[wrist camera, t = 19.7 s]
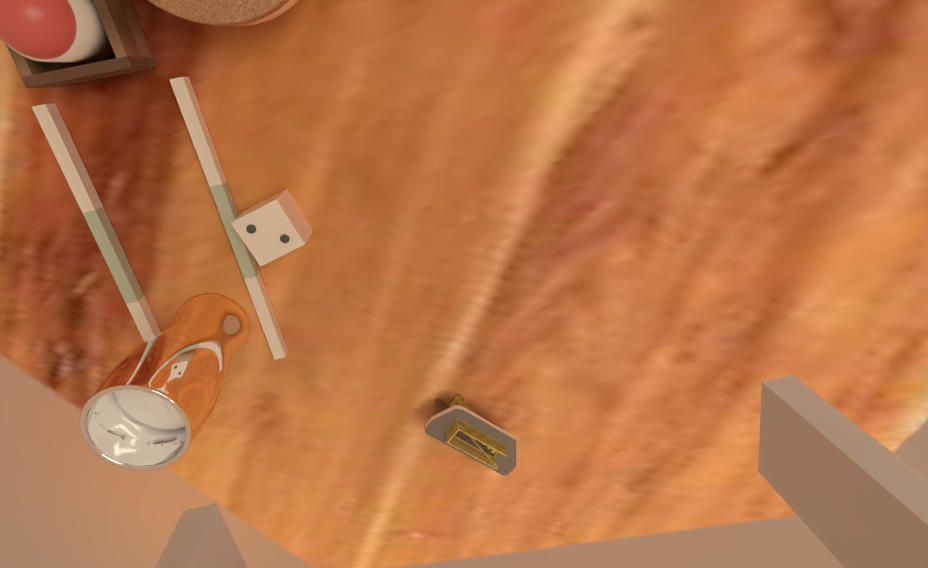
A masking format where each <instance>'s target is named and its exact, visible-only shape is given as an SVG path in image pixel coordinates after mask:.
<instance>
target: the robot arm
mask: <svg viewBox="0 0 928 568" xmlns="http://www.w3.org/2000/svg"><path fill="white" fill-rule="evenodd" d="M758 471H759V472H760V473H761V474H762V476H763V477H764V478H765V479H766V480H767V481H768V482H769V483H770V485H771V486H772V487H773V488H774V489H775V490H776V491H777V492H778V494H779V495H780V496H781V497H782V498H783V499H784V500H785V501H786V503H787V504H788V505H789V506H790V507H791V508H792V509H793V510H794V511H795V513H796V514H797V515H798V516H799V517H800V518H801V519H802V520H803V522H804V523H805V524H806V525H807V526H808V527H809V528H810V529H811V530H812V532H813V533H814V534H815V535H816V536H817V537H818V538H819V540H820V541H821V542H822V543H823V544H824V545H825V546H826V547H827V548H828V550H829V551H830V552H831V553H832V554H833V555H834V556H835V557H836V559H837V560H838V561H839V562H840V563H841V564H842V565H843V566H844V568H928V480H927V479H926V478H924V477H923V476H922V475H921V474H919V473H918V472H917V471H915V470H914V469H913V468H912V467H910V466H909V465H908V464H906V463H905V462H904V461H903V460H901V459H900V458H899V457H897V456H896V455H895V454H894V453H892V452H891V451H890V450H888V449H887V448H886V447H885V446H883V445H882V444H881V443H879V442H878V441H877V440H876V439H874V438H873V437H872V436H870V435H869V434H868V433H867V432H865V431H864V430H863V429H861V428H860V427H859V426H858V425H856V424H855V423H854V422H853V421H851V420H850V419H849V418H847V417H846V416H845V415H844V414H842V413H841V412H840V411H838V410H837V409H836V408H835V407H833V406H832V405H831V404H829V403H828V402H827V401H826V400H824V399H823V398H822V397H820V396H819V395H818V394H817V393H815V392H814V391H813V390H811V389H810V388H809V387H808V386H806V385H805V384H804V383H802V382H801V381H800V380H799V379H797V378H796V377H795V376H793V375H791V376H786V377H782V378H777V379H773V380H768V381H764V382H762V394H761V418H760V442H759V467H758ZM155 568H247V566H246V564H245V562H244V560H243V557H242V555H241V553H240V551H239V549H238V547H237V545H236V543H235V541H234V539H233V537H232V535H231V533H230V531H229V529H228V526H227V524H226V522H225V520H224V518H223V516H222V514H221V512H220V510H219V508H218V506H217V504H213V505H208V506H204V507H200V508H195V509H190V510H186V511H183V513H182V515H181V517H180V519H179V521H178V523H177V525H176V527H175V529H174V531H173V533H172V535H171V537H170V539H169V541H168V543H167V545H166V547H165V549H164V551H163V553H162V555H161V557H160V559H159V561H158V563H157V565H156V567H155Z"/></svg>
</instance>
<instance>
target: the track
mask: <svg viewBox="0 0 928 568" xmlns="http://www.w3.org/2000/svg"><path fill="white" fill-rule="evenodd" d="M169 81H170V83H171V86H172V89H173V91H174V94H175V96H176V99H177V102H178V104H179V107H180V110H181V112H182V115H183V118H184V120H185V123H186V126H187V128H188V131H189V134H190V136H191V139H192V142H193V144H194V147H195V150H196V152H197V155H198V158H199V160H200V163H201V166H202V168H203V171H204V174H205V176H206V179H207V182H208V184H209V187H210V190H211V192H212V195H213V198H214V200H215V203H216V206H217V208H218V211H219V213H220V216H221V219H222V221H223V224H224V227H225V229H226V232H227V235H228V237H229V240H230V243H231V245H232V248H233V251H234V253H235V256H236V259H237V261H238V264H239V267H240V269H241V272H242V275H243V277H244V280H245V283H246V285H247V288H248V291H249V293H250V296H251V299H252V301H253V304H254V307H255V309H256V312H257V315H258V317H259V320H260V323H261V325H262V328H263V331H264V333H265V336H266V338H267V341H268V344H269V346H270V349H271V352H272V354H273V357H274V360H276V359H280V358H285V357H286V355H287V352H288V349H287V347H286V344H285V341H284V338H283V335H282V333H281V330H280V327H279V324H278V322H277V319H276V316H275V313H274V311H273V308H272V305H271V302H270V300H269V297H268V294H267V291H266V288H265V286H264V283H263V280H262V277H261V275H260V272H259V269H258V266H257V264H256V261H255V258H254V256H253V255H252V253H251V252H250V251H249V249H248V248H247V246H246V245H245V243H244V242H243V240H242V239H241V237H240V236H239V235H238V233H237V232H236V230H235V229H234V227H233V226H232V224H231V222H232V221H233V220H234V219H235V218H236V217H238V216H239V214H238V211H237V208H236V206H235V203H234V200H233V197H232V194H231V192H230V189H229V186H228V183H227V181H226V178H225V175H224V172H223V170H222V167H221V164H220V161H219V158H218V156H217V153H216V150H215V147H214V145H213V142H212V139H211V136H210V134H209V131H208V128H207V125H206V123H205V120H204V117H203V114H202V111H201V109H200V106H199V103H198V100H197V98H196V95H195V92H194V89H193V87H192V84H191V81H190V78H189V77H179V78H174V79H169ZM32 109H33V111H34V113H35V115H36V117H37V119H38V121H39V123H40V126H41V128H42V130H43V132H44V134H45V136H46V138H47V140H48V142H49V144H50V146H51V148H52V151H53V153H54V155H55V157H56V159H57V161H58V163H59V165H60V167H61V169H62V171H63V173H64V176H65V178H66V180H67V182H68V184H69V186H70V188H71V190H72V192H73V194H74V196H75V198H76V201H77V203H78V205H79V207H80V209H81V211H82V213H83V215H84V217H85V219H86V221H87V223H88V226H89V228H90V230H91V232H92V234H93V236H94V238H95V240H96V242H97V244H98V246H99V248H100V251H101V253H102V255H103V257H104V259H105V261H106V263H107V265H108V267H109V269H110V271H111V273H112V276H113V278H114V280H115V282H116V284H117V286H118V288H119V290H120V292H121V294H122V296H123V298H124V301H125V303H126V305H127V307H128V309H129V311H130V313H131V315H132V317H133V319H134V321H135V323H136V326H137V328H138V330H139V332H140V334H141V336H142V338H143V340H144V342H146V341H147V340H149V339H151V338H152V337H154V336H155V335H157V334H159V333H160V332H161V331H160V328H159V326H158V324H157V322H156V320H155V318H154V315H153V313H152V311H151V309H150V307H149V305H148V302H147V300H146V298H145V296H144V294H143V292H142V290H141V287H140V285H139V283H138V281H137V279H136V277H135V274H134V272H133V270H132V268H131V266H130V264H129V261H128V259H127V257H126V255H125V253H124V251H123V248H122V246H121V244H120V242H119V240H118V238H117V235H116V233H115V231H114V229H113V227H112V225H111V222H110V220H109V218H108V216H107V214H106V212H105V209H104V207H103V205H102V203H101V201H100V199H99V196H98V194H97V192H96V190H95V188H94V186H93V183H92V181H91V179H90V177H89V175H88V173H87V170H86V168H85V166H84V164H83V162H82V160H81V157H80V155H79V153H78V151H77V149H76V147H75V144H74V142H73V140H72V138H71V136H70V134H69V131H68V129H67V127H66V125H65V123H64V121H63V118H62V116H61V114H60V112H59V110H58V108H57V105H56V103H52V104H43V105H38V106H33V107H32Z"/></svg>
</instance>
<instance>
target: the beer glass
mask: <svg viewBox="0 0 928 568" xmlns="http://www.w3.org/2000/svg"><path fill="white" fill-rule="evenodd" d="M248 335H249V322H248V319H247V316H246V314H245V313H244V311H243V310H242V309H241V308H240V306H238V305H237V304H236V303H235V302H233V301H232V300H230V299H228V298H226V297H223V296H219V295H213V294H205V295H200V296H197V297H194V298H192V299H190V300H189V301H187V302H186V303H185V304H184V305H183V306H182V307H181V309H180V310H179V312H178V314H177V316H176V319H175V321H174V323H173V325H172V326H170V327H169V328H167V329H166V330H164V331H162V332H160V333H159V334H157V335H155V336H154V337H152V338H151V339H149V340H147V341H146V342H144V343H143V344H141V345H140V346H139V347H137V348H136V349H134V350H133V351H132V352H131V353H130V354H129V355H127V356H126V357H125V358H124V359H123V360H122V361H121V362H120V363H119V364H118V365H117V366H116V367H115V368H114V370H113V371H112V372H111V373H110V374H109V375H108V377H107V378H106V379H105V380H104V382H103V383H102V384H101V385H100V387H99V388H98V389H97V391H96V392H95V394H94V395H93V396H92V397H91V398H90V399H89V400H88V401H87V403H86V404H85V406H84V407H83V409H82V412H81V415H80V429H81V433H82V436H83V438H84V440H85V442H86V443H87V445H88V446H89V447H90V449H91V450H92V451H93V452H94V453H95V454H97V455H98V456H99V457H100V458H102V459H103V460H105V461H107V462H109V463H111V464H113V465H115V466H118V467H121V468H124V469H128V470H135V471H151V470H157V469H161V468H164V467H167V466H169V465H171V464H173V463H174V462H176V461H177V460H179V459H180V458H181V457H182V456H183V455H184V454H185V452H186V451H187V449H188V447H189V446H190V444H191V443H192V441H193V440H194V439H195V437H196V436H197V435H198V433H199V432H200V430H201V429H202V428H203V426H204V425H205V423H206V421H207V420H208V418H209V417H210V415H211V413H212V411H213V409H214V407H215V405H216V403H217V401H218V399H219V397H220V394H221V391H222V388H223V384H224V380H225V376H226V372H227V367H228V363H229V360H230V358H231V357H232V356H233V355H234V354H235V353H236V352H237V351H238V350H239V349H240V348H241V347H242V346H243V345H244V344H245V342H246V340H247V338H248Z"/></svg>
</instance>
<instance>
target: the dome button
mask: <svg viewBox="0 0 928 568" xmlns="http://www.w3.org/2000/svg"><path fill="white" fill-rule="evenodd" d="M0 38H1V39H2V40H3V41H4V42H5V43H6V44H7V45H8V46H9V47H10V48H11V49H13V50H14V51H15V52H17V53H18V54H20V55H22V56H24V57H26V58H29V59H32V60H35V61H41V62H72V63H95V62H99V61H102V60H104V59H106V58H107V57H109V56H110V55H111V54H112V53H113V48H112V46H111V43H110V41H109V39H108V36H107V34H106V31H105V29H104V26H103V24H102V21H101V19H100V16H99V14H98V11H97V9H96V7H95V4H94V2H93V0H0Z"/></svg>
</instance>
